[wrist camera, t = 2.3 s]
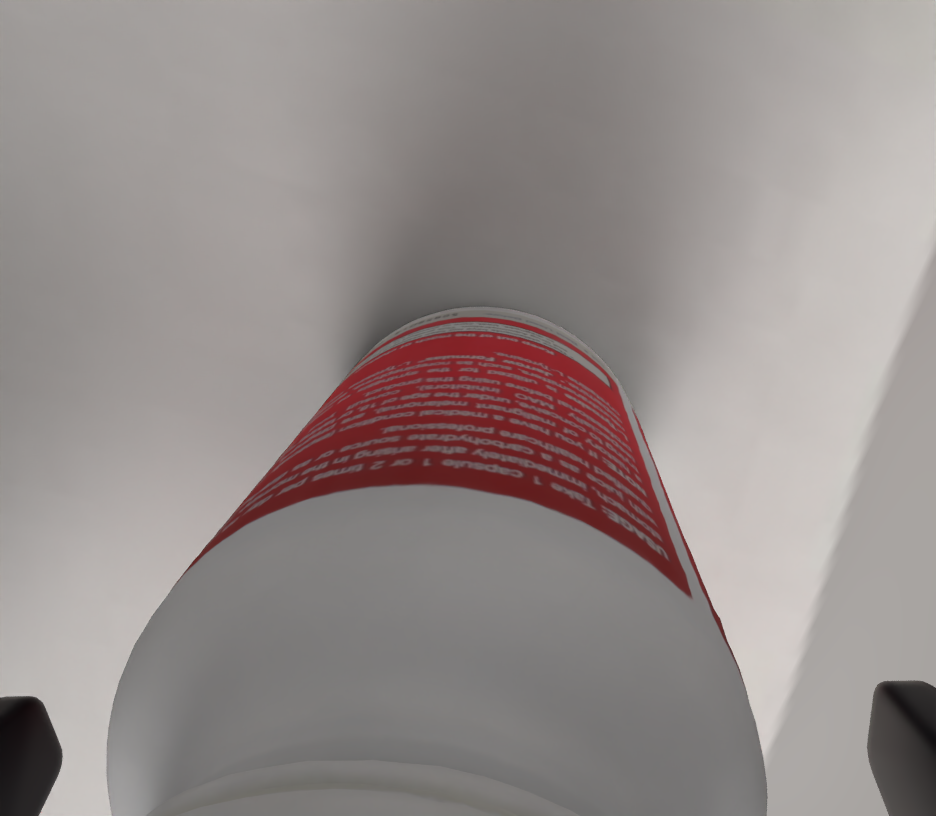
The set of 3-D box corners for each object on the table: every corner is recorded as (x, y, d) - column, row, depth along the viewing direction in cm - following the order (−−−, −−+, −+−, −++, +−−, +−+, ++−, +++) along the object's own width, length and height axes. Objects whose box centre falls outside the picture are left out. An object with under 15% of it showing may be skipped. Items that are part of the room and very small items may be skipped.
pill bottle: (278, 398, 14) (-475, 1111, 3) (537, 236, 12) (559, 665, 2) (442, 618, 15) (259, 1562, 5) (691, 500, 14) (1166, 1527, 3)
